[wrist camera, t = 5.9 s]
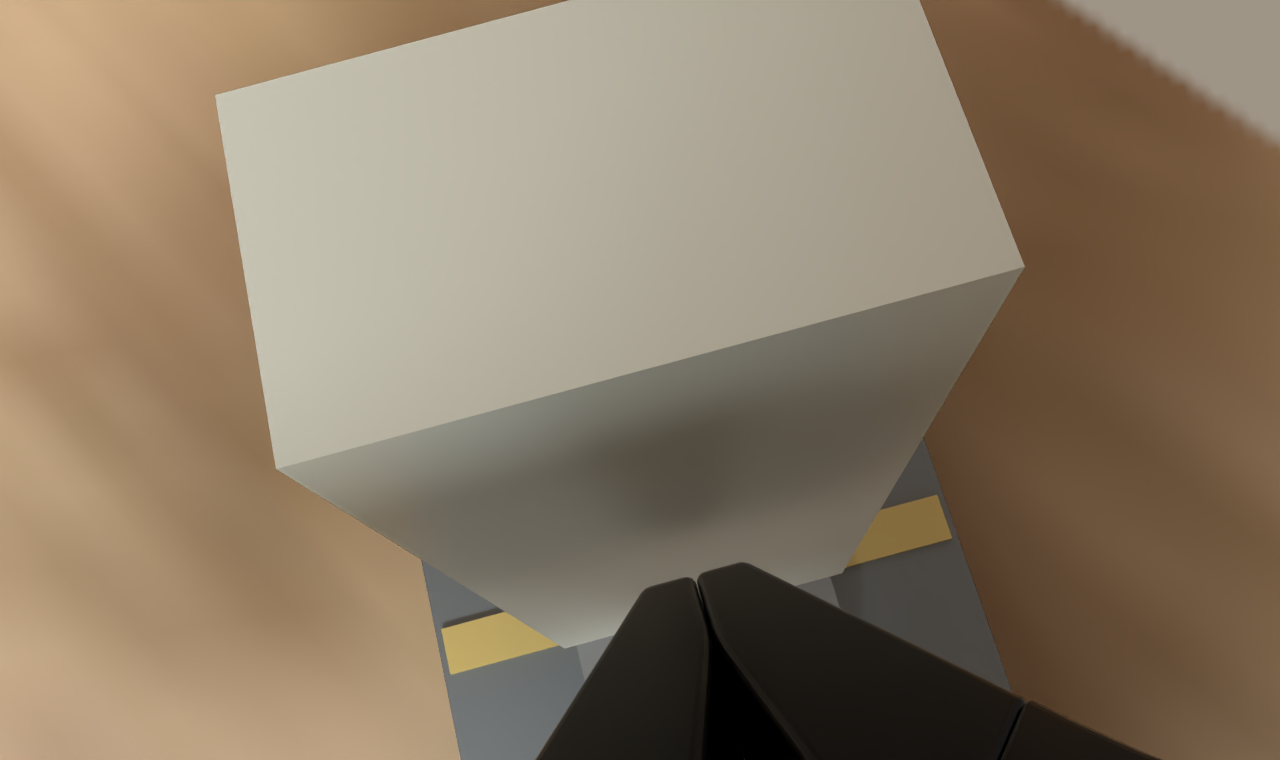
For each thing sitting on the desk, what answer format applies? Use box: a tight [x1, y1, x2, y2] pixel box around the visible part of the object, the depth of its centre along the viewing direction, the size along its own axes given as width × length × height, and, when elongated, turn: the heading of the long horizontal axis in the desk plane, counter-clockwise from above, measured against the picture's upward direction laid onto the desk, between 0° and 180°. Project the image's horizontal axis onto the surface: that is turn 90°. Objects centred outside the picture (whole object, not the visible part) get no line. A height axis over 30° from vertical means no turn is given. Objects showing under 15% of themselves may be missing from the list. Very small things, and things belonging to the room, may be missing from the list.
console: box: [421, 437, 1012, 760], centre depth 14 cm, size 16×7×4 cm, turn 15°
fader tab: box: [215, 0, 1025, 680], centre depth 11 cm, size 4×4×10 cm
